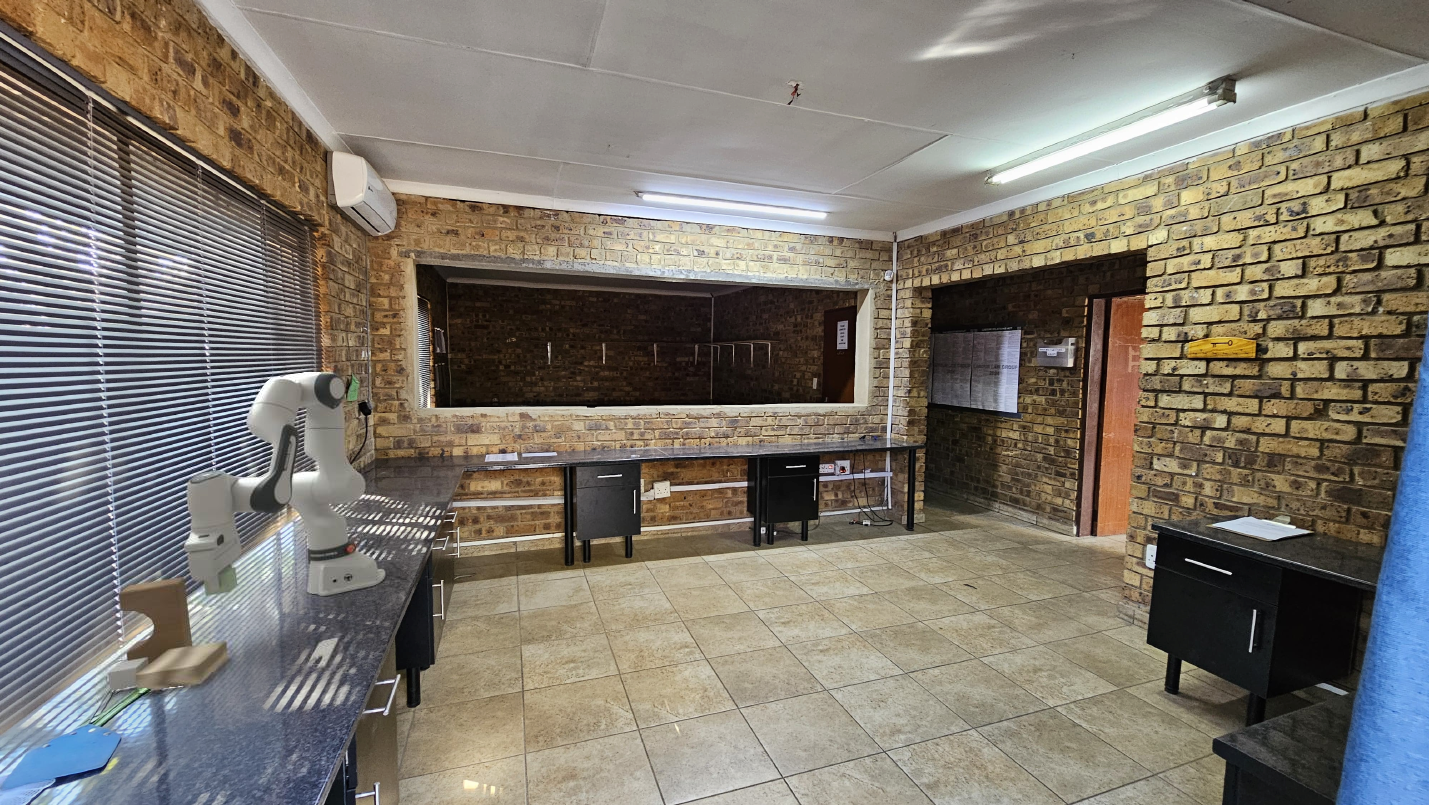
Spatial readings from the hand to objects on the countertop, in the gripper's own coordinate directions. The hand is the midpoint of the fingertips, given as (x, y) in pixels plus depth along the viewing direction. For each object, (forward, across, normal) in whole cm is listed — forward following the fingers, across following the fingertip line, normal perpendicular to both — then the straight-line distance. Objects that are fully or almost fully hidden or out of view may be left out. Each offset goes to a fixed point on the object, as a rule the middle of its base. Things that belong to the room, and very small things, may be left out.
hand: (221, 584), depth 152 cm
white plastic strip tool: (+18, +17, +25) cm, 35 cm away
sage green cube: (+2, 0, 0) cm, 2 cm away
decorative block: (+17, +2, -13) cm, 22 cm away
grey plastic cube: (+17, +14, -14) cm, 26 cm away
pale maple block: (+17, +14, -4) cm, 22 cm away
